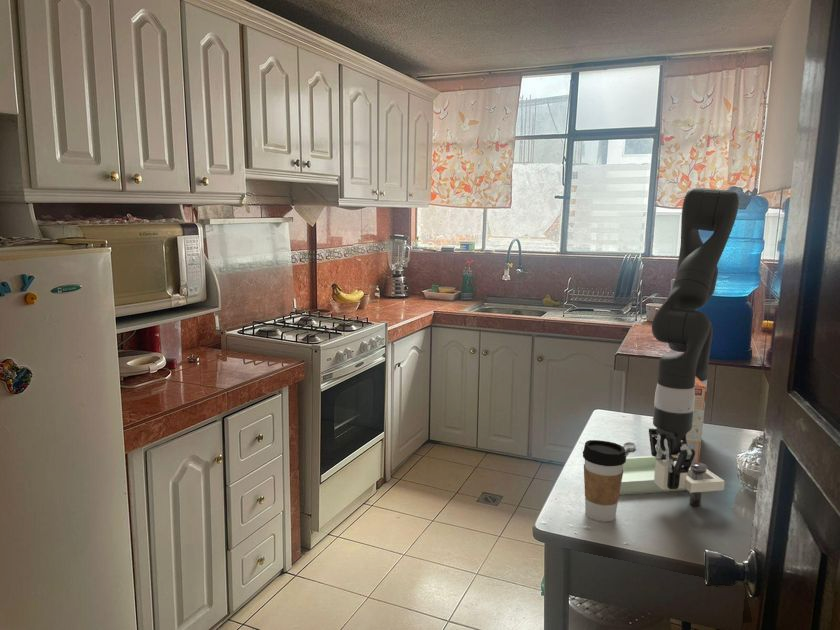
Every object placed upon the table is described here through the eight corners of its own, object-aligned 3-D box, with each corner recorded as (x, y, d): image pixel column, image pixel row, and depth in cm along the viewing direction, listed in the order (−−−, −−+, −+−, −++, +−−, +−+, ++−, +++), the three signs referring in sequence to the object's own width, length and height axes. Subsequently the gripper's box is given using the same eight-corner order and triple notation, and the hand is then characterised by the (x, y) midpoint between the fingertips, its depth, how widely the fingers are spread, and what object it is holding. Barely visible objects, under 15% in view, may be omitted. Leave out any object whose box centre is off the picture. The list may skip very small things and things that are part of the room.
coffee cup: (575, 504, 130) (579, 437, 127) (615, 505, 130) (620, 438, 127) (584, 524, 122) (588, 453, 119) (627, 525, 121) (632, 454, 119)
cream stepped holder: (701, 474, 134) (703, 453, 133) (723, 490, 127) (726, 467, 126) (648, 478, 132) (650, 456, 131) (668, 494, 125) (670, 471, 124)
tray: (590, 471, 147) (590, 459, 146) (657, 467, 150) (658, 455, 149) (615, 495, 134) (616, 482, 134) (688, 490, 137) (689, 477, 137)
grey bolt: (683, 502, 132) (687, 462, 130) (697, 500, 132) (700, 461, 131) (692, 509, 128) (696, 468, 127) (706, 508, 129) (710, 467, 127)
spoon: (637, 448, 162) (637, 441, 161) (622, 466, 153) (623, 458, 152) (625, 445, 164) (626, 438, 163) (611, 463, 154) (611, 456, 154)
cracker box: (700, 469, 148) (708, 386, 145) (673, 467, 149) (680, 384, 146) (687, 448, 162) (694, 371, 158) (663, 446, 163) (669, 370, 159)
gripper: (712, 416, 119) (704, 498, 122) (671, 394, 133) (664, 468, 136) (676, 418, 118) (669, 501, 121) (639, 395, 132) (633, 470, 135)
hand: (667, 483), depth 129 cm, fingers closed on cream stepped holder, 3 cm apart
